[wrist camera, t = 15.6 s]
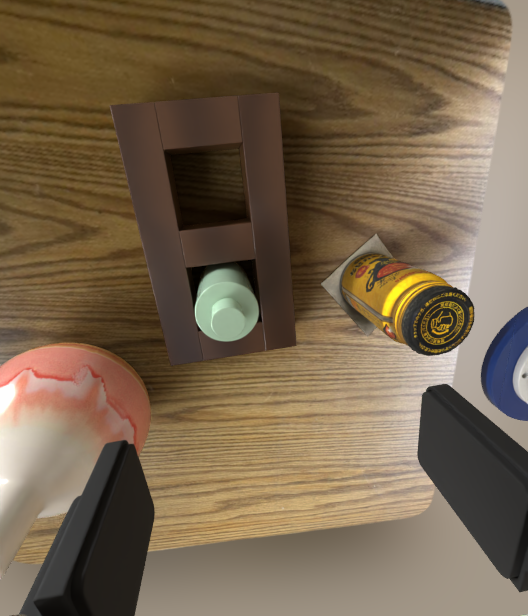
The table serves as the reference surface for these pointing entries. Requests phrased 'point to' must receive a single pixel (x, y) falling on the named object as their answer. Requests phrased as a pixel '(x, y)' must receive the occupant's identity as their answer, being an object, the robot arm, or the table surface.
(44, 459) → the vase
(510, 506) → the robot arm
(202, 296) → the bottle
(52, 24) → the table surface
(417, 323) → the condiment
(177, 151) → the peg block
